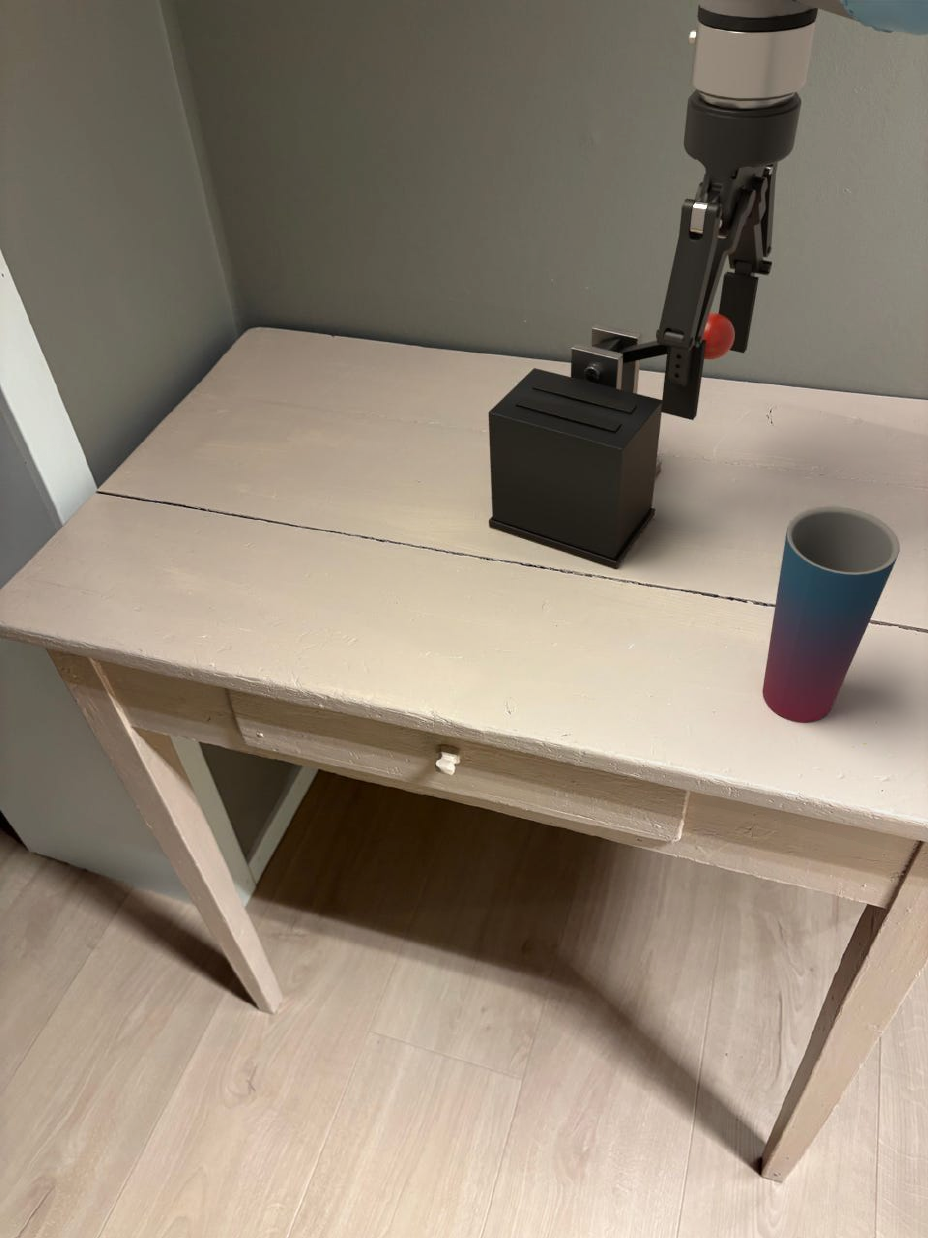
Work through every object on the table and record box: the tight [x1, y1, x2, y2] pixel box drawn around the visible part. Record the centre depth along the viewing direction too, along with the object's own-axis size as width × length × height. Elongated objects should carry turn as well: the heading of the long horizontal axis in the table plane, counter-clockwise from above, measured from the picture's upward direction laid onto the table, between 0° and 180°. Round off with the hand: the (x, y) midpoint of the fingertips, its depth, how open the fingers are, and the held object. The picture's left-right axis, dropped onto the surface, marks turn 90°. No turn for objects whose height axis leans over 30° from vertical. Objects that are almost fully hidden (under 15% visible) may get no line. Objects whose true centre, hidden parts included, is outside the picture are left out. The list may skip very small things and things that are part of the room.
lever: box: [592, 312, 735, 371], centre depth 80 cm, size 13×4×4 cm, turn 59°
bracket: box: [570, 323, 662, 477], centre depth 87 cm, size 10×6×14 cm, turn 59°
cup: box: [761, 505, 901, 723], centre depth 66 cm, size 7×7×15 cm
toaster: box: [487, 367, 663, 570], centre depth 83 cm, size 13×8×12 cm
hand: (705, 379), depth 80 cm, fingers open, 11 cm apart
